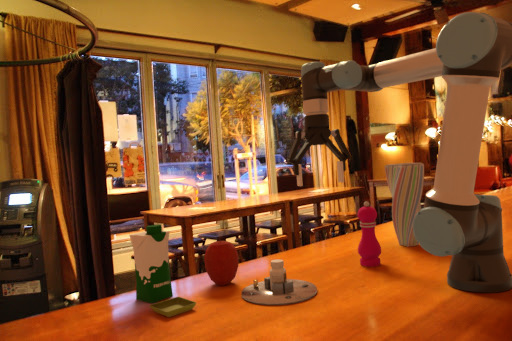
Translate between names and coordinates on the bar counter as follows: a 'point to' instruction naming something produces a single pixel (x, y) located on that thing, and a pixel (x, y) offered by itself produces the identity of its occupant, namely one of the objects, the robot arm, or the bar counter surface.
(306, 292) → the flange plate
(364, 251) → the pepper mill
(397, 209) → the vase
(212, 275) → the apple
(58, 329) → the bar counter surface
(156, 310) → the olive square tray
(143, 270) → the milk carton
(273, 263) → the pill bottle
